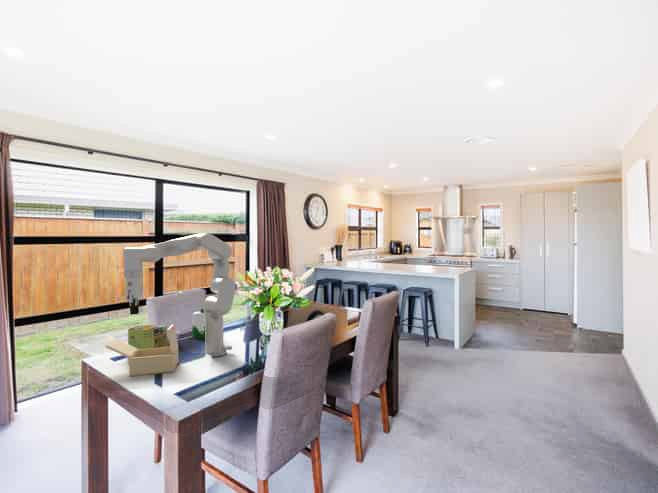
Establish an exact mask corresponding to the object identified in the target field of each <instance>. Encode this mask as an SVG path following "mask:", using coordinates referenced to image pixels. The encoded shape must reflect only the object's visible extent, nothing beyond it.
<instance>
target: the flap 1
mask: <svg viewBox="0 0 658 493" xmlns="http://www.w3.org/2000/svg"><path fill="white" fill-rule="evenodd" d="M105 348H107V349H108V350H111V351H113V352H115V353H118V354H119V355H121V356H123V357H126V358H127V359H129V358H130V357H131V356H132V355H133V354H134V353H135V352H136V351H137V348H135V347H133V346H131V345H129V344H128V343H127V342H126V341H123V340H121V339H118V338H116V337H115V338H114V339H113V340H111V341H110V342H109V343H107V344H106V345H105Z"/></svg>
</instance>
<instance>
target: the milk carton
mask: <svg viewBox="0 0 658 493" xmlns="http://www.w3.org/2000/svg"><path fill="white" fill-rule="evenodd" d="M191 321H192V326H191V327H192V329H191V330H192V338H193V337H194V338H193V339H205V338H204V337H205V315H204V310H203V308H200V311H194V312H193V313H192V320H191Z"/></svg>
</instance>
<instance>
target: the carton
mask: <svg viewBox="0 0 658 493" xmlns="http://www.w3.org/2000/svg"><path fill="white" fill-rule="evenodd" d="M128 360H129V361H128V368H129V370H128V372H129V376H128V377H138V376H147V375H148V376H149V375H150V376H151V375H159V374H160V375H162V374H171V373H174V372H175V370H176V368H177V366H178V364H179V346H178V347H177V349H176V351H175V352H174V353H171V348H170V347H163V348H151V349H138V350H137V351H136V352H135V353H134V354H133V355H132V356H131V357H130V358H128Z"/></svg>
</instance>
